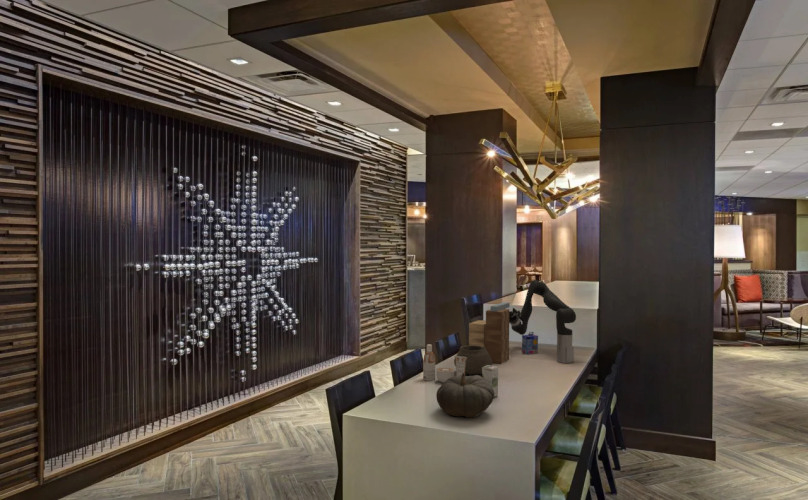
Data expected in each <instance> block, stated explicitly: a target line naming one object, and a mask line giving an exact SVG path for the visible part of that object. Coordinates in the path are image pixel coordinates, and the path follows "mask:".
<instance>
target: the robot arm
mask: <svg viewBox="0 0 808 500" xmlns="http://www.w3.org/2000/svg"><path fill="white" fill-rule="evenodd" d="M534 294H535V295H537V296H539V297H541V298H543V299H542V300H543V303H544V305H545V306H546V307H547V308H548V309H550V310H552V311H554V312H555V322H556V323H555V324H556V325H555V327H556V362H558V363H563V364H571V363H574V361H575V359H574V357H575V356H574V353H575V351H574V346H573V329H571V328H568V327H566V324H573V323H575V321H576V320H577V315H576V312H575V310H574V309H572V307H570V306H568V305H567V304H566V303H565V302H563V300H561V299H560V297H558V295H556V294H555V293H554V292H553V291H552V290H551V289H550V288H549V286H548V285H547V284H546V283H545V282H542V281H540V280H537V279H533V280H531V282H530V283H529V285H528V289H527V292H526V295H525V299H524V303H523V306H522V308H521V310H516V308H515V307H512V310H511V311H510V310H509V325H510V326H511V330H512V331H513V332H516V333H517V334H519V335H521V336H522V335H526V333H527V331H528V324H529V320H530V318H531V315H532V312H533V296H534Z"/></svg>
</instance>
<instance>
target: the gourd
mask: <svg viewBox="0 0 808 500" xmlns="http://www.w3.org/2000/svg"><path fill="white" fill-rule="evenodd" d="M494 398H495V397H494V390H493V388H492V386H491V384H490V383H489V382H487V381H486V380H485V379H483V378H482V375H480V374H479V375H468V376H467V375H466V374H465V375H464V373H462V377H461V376H456V375H454V376H453V377H450V378H449V379H447V380H446V381H445V382H444V383H443V382H442V384H441V385H440V387H438V389H437V391H436V401H437V404H438V406H439V408H440V409H441V410H442V411H443V412H444V413H445V414H448V415H449V416H452V417H453V416H454V417H465V418H475V417H477V416H479V415H481V413H483V412H485V411H486V410H487V409H488V408H489V407H490V405H491V404H492V402H493V400H494Z"/></svg>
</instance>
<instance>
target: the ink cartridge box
mask: <svg viewBox="0 0 808 500" xmlns="http://www.w3.org/2000/svg"><path fill="white" fill-rule="evenodd" d="M534 333H535V332H534V331H529V332H528V334H523V335H521V337H522V338H521V354H524V355H532V354H533V355H534V354H535V355H536V354H538V353H539V352H538V350H539V335H537V334H534Z"/></svg>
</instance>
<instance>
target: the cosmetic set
mask: <svg viewBox="0 0 808 500" xmlns="http://www.w3.org/2000/svg"><path fill="white" fill-rule="evenodd" d="M422 358H423V361H422V362H423V363H422V367H423V368H422V376H423V377H422V379H423V380H424V381H426V382H427V381H430V382H431V381H435V380H437V381H439V382H440V383H442V384H443V383H444V382H445V381H446V380H447V379H449V378H450V377H453V376H461V377H462V373H464V375H465V376H466V374H465V366H466V359H467V357H462V356H456V355H454V359H455V360H456V366H455V369H454V368H452V367H438V368H437V369H436V355H435V354H434V352H433V345H432V344H429V343H428V344H426V351H425V353H424V354H423V357H422ZM455 371H456V372H455ZM436 378H437V379H436Z"/></svg>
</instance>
